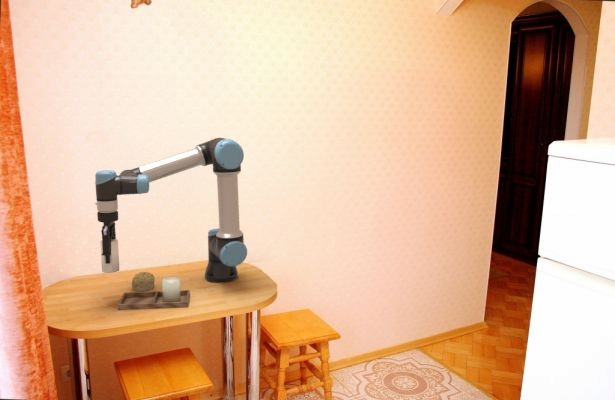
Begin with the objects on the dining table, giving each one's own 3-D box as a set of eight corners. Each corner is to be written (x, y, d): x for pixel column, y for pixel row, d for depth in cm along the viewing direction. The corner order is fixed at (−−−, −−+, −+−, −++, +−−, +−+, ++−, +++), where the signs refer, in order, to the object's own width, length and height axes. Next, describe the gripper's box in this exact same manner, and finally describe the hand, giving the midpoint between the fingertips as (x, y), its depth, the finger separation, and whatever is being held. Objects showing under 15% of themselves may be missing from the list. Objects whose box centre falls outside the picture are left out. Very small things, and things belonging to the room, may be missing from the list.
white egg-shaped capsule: (181, 297, 213) (180, 276, 211) (179, 304, 206) (179, 282, 205) (163, 298, 212) (162, 277, 210) (161, 305, 205) (160, 283, 204)
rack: (189, 297, 217) (189, 290, 216) (187, 309, 204) (187, 302, 203) (124, 299, 213) (124, 292, 212) (118, 312, 200) (117, 305, 199)
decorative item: (140, 302, 220) (153, 285, 217) (122, 287, 220) (135, 270, 218) (151, 295, 229) (163, 278, 226) (134, 280, 229) (146, 264, 227)
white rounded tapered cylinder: (120, 267, 210) (119, 238, 207) (117, 272, 203) (116, 242, 201) (104, 268, 209) (102, 239, 206) (100, 273, 202) (98, 243, 200)
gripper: (102, 205, 210) (106, 260, 215) (91, 216, 192) (95, 276, 196) (122, 205, 212) (125, 260, 216) (112, 216, 193) (115, 275, 197)
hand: (110, 267), depth 206 cm, fingers closed on white rounded tapered cylinder, 6 cm apart
